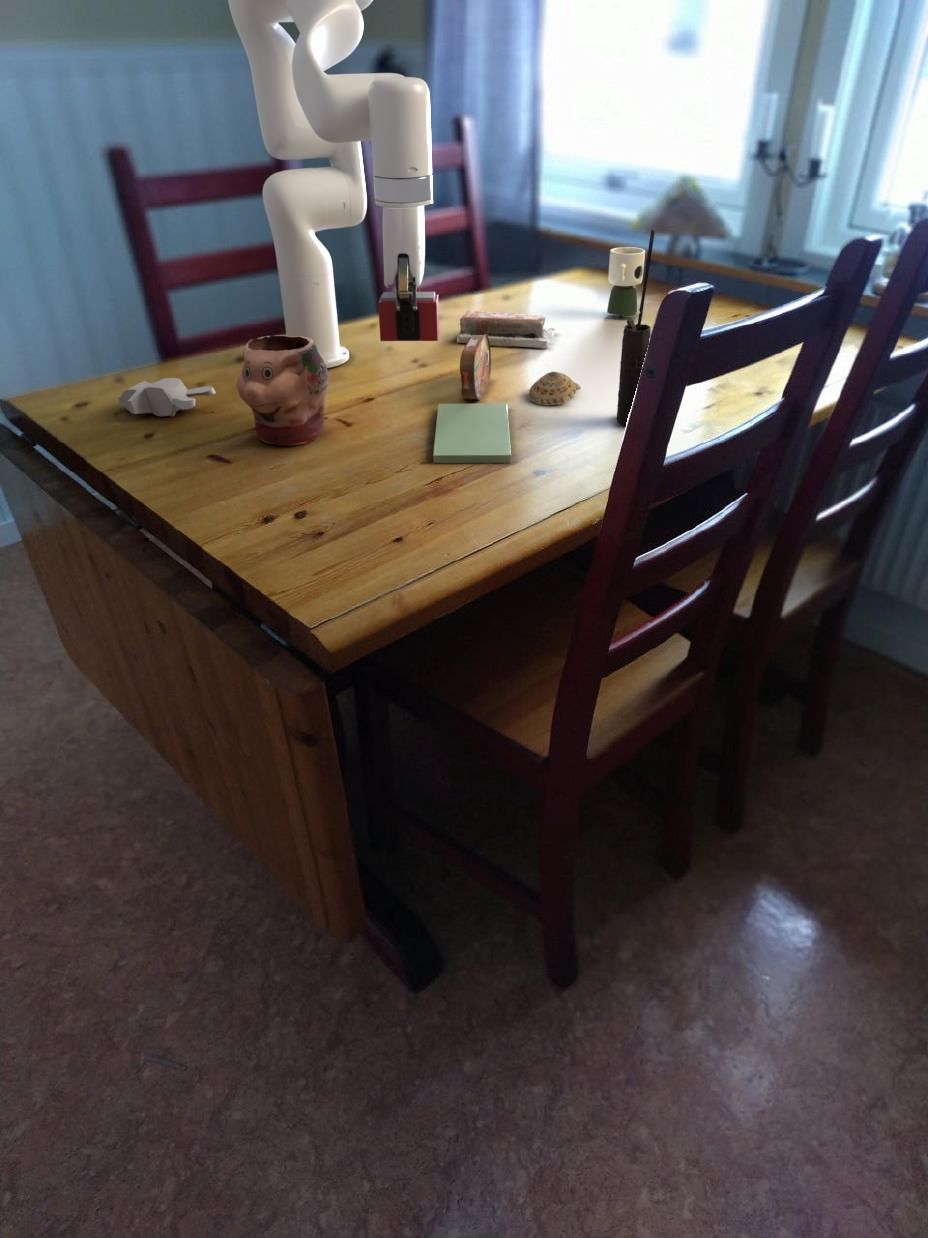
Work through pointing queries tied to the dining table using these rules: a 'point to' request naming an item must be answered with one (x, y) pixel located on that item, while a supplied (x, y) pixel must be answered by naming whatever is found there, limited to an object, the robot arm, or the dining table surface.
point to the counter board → (472, 434)
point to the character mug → (625, 279)
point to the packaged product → (505, 329)
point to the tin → (475, 367)
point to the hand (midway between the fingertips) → (410, 332)
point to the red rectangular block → (427, 313)
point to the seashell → (553, 389)
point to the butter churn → (633, 353)
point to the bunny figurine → (161, 397)
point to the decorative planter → (284, 388)
